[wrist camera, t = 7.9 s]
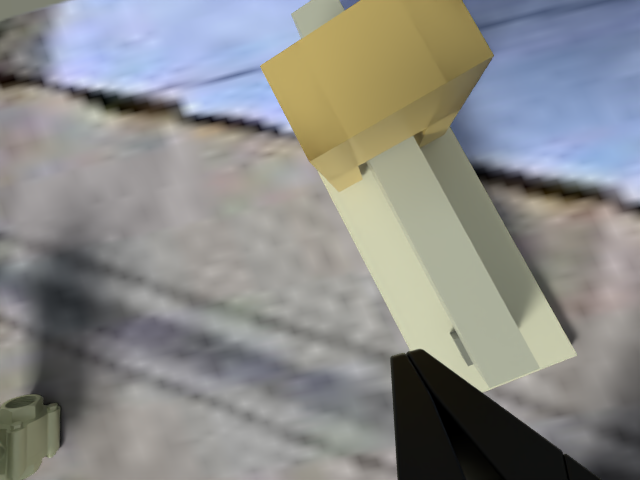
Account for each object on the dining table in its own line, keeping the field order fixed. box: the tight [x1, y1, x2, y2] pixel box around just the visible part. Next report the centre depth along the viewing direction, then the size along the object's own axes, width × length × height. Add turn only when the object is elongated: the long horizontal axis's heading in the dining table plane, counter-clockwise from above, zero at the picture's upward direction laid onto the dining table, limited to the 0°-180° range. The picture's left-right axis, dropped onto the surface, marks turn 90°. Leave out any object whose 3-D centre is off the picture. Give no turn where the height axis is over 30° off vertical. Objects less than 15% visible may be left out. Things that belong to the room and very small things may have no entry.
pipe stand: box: [291, 0, 577, 393], centre depth 18 cm, size 23×8×5 cm, turn 28°
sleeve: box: [260, 0, 494, 192], centre depth 15 cm, size 4×7×8 cm, turn 118°
